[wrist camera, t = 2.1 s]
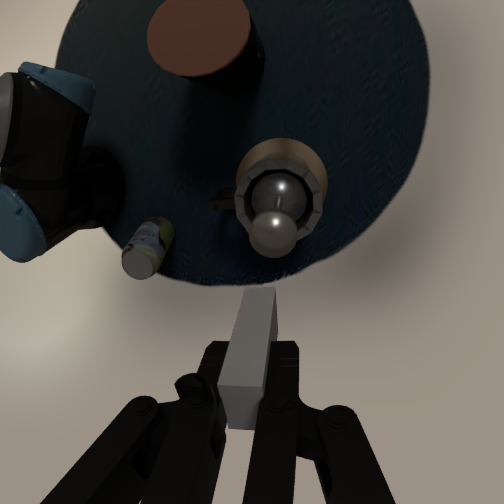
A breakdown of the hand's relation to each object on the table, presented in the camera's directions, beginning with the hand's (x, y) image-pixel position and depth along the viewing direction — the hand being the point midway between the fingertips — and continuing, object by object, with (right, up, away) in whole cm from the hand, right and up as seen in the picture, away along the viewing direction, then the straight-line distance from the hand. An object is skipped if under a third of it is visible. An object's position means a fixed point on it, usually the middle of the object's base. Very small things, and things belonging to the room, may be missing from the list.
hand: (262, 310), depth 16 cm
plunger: (+3, +9, +21) cm, 24 cm away
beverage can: (-16, +6, +37) cm, 41 cm away
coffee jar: (-4, +32, +24) cm, 40 cm away
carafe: (+2, +13, +30) cm, 33 cm away
